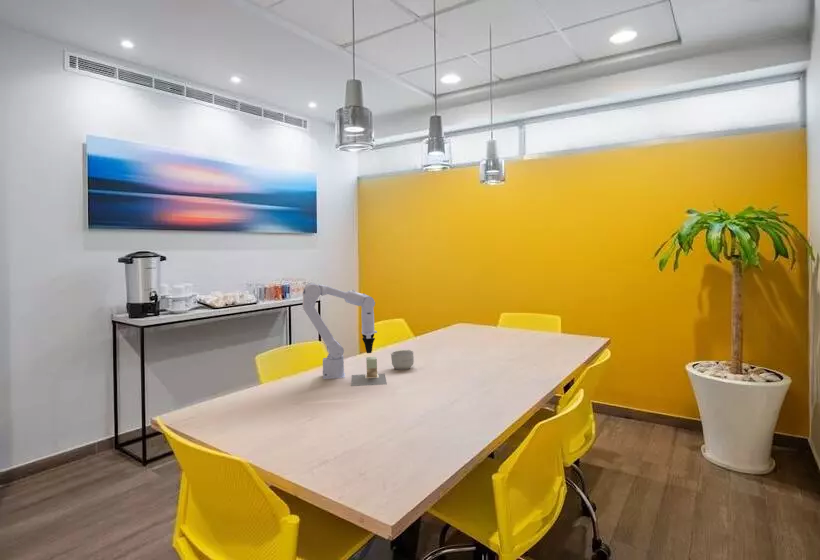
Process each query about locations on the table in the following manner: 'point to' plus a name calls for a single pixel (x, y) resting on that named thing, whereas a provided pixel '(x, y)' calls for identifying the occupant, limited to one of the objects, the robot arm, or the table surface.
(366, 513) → the table surface
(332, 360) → the robot arm
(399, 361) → the teacup
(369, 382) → the baseplate
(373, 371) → the maple block
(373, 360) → the sage block
